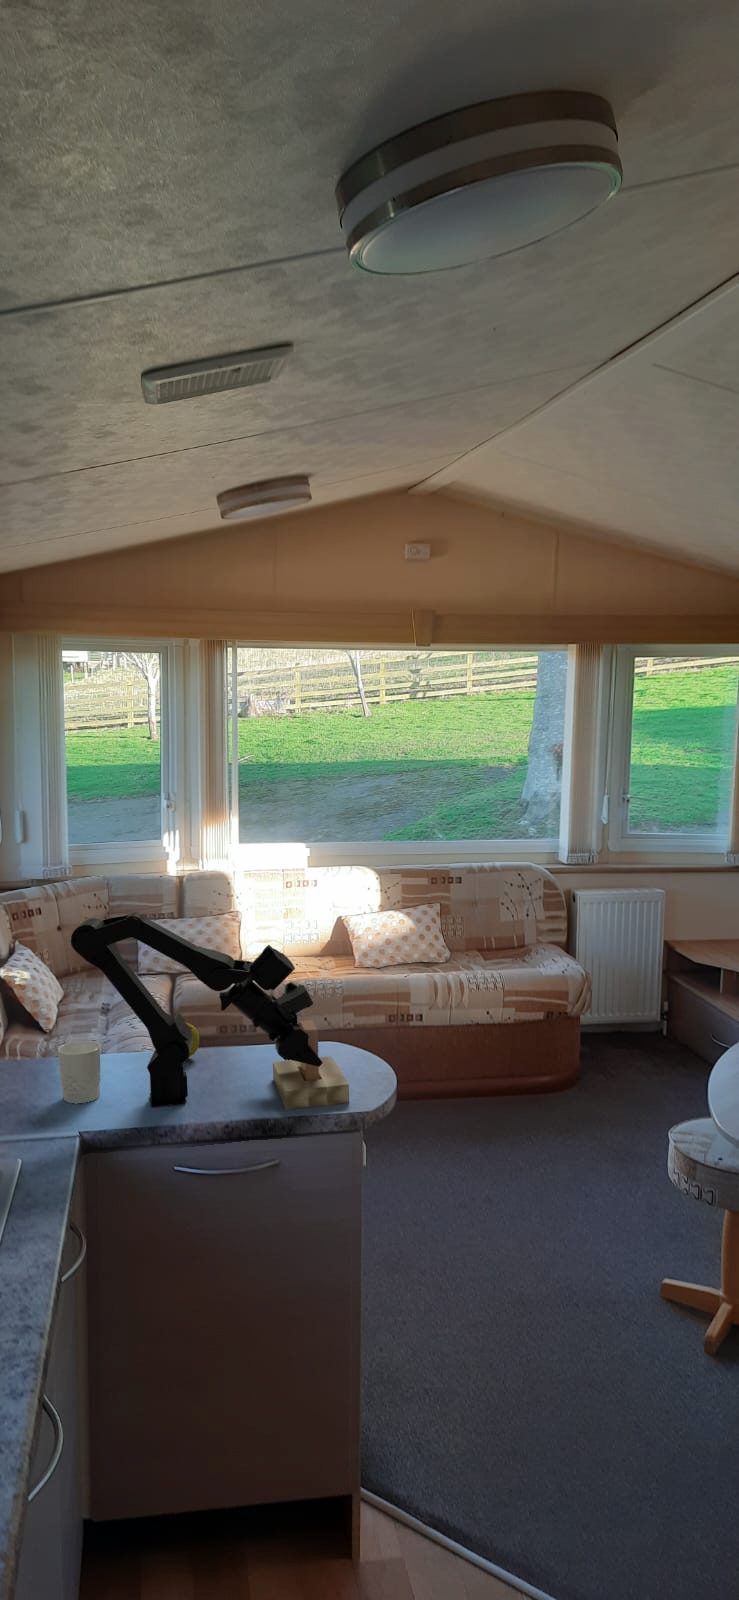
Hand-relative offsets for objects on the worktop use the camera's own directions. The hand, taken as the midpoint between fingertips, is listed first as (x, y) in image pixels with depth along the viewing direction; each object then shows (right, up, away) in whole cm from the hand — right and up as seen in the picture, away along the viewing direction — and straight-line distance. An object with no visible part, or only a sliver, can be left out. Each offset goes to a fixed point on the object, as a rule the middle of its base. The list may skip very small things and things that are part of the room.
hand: (316, 1056), depth 200 cm
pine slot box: (-1, -7, 0) cm, 7 cm away
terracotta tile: (-1, -7, 0) cm, 7 cm away
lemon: (-29, -5, +19) cm, 35 cm away
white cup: (-45, -8, -1) cm, 46 cm away
